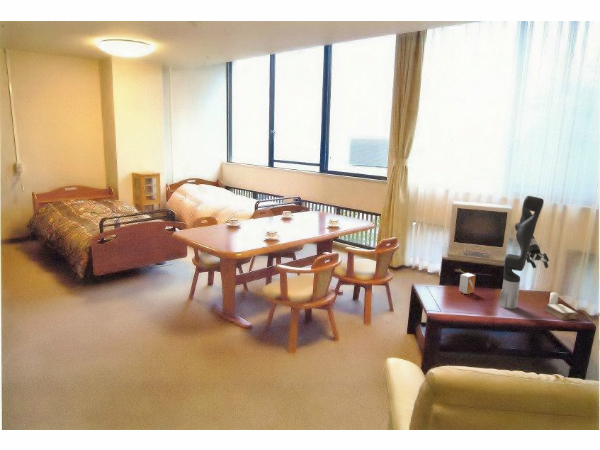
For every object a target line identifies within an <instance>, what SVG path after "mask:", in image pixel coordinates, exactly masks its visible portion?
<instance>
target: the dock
mask: <svg viewBox="0 0 600 450" xmlns="http://www.w3.org/2000/svg"><path fill="white" fill-rule="evenodd" d="M544 310H545V312H546V313H549V314H550V315H552V316H554V317H555V318H557V319H559V320H560V321H565V320H566V321H569V320H571V319H576V320H578V316H579V313H578V312H577V311H576V310H573V309H571V308H569V307H567V306H565V305H564V304H561V303H557V304H549V303H548V304H545V309H544Z"/></svg>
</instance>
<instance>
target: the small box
mask: <svg viewBox="0 0 600 450" xmlns="http://www.w3.org/2000/svg"><path fill="white" fill-rule="evenodd" d="M476 276H477V275H476V274H472V273H470V272H466V273H465V272H464V273H462V274H460V276H459V277H460V278H459V289H458V292H459V291H461V292H463V293H466V294H468V293H472V292H475V286H476V285H475V284H476Z"/></svg>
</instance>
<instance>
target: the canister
mask: <svg viewBox="0 0 600 450" xmlns="http://www.w3.org/2000/svg"><path fill="white" fill-rule="evenodd" d="M558 302H559V293H558V292H556V291H555V292H550V294H549V302H548V304H558Z"/></svg>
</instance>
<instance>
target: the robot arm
mask: <svg viewBox="0 0 600 450" xmlns="http://www.w3.org/2000/svg"><path fill="white" fill-rule="evenodd" d="M544 202H545V201H544V199H543V198H541V197H537V196H533V195H527V196H526V197H524V200H523V203H522V207H521V217H520V218H519V222H517V223H515V225H514V230H515V232H516V234H515V237H516V241H517V243H518V246H519V248H520V254H519V255H518V254H511V253H508V254H506V255H505V259H504V263H503V265H504V267H503V280H502V281H503V282H502V286H501V287H502V289H501V290H500V294H499V301H498V305H499V306H501V307H502V308H503V309H509V310H516V309H517V307H518V300H519V293H520V283H521V276H520V275H518V274H516V273H515V272H514V271H518V272H521V271H523V270H524V268H525V266H526V262H527V264H531V267H532V268H533V269H536V268H537V265H536V263H535V261H539V262H541V263H543V265H544V268H545V269H548V268H549V263H548V262H549V261H550V259H549V257H548V256H547V253H542V252H541V249H540V246H539V244H538V242H537V240H536V238H535V236H534V235H535V230H536V227H537V223H538V220H539V217H540V214H541V212H542V210H543V207H544ZM532 212H534V213H532Z"/></svg>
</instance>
